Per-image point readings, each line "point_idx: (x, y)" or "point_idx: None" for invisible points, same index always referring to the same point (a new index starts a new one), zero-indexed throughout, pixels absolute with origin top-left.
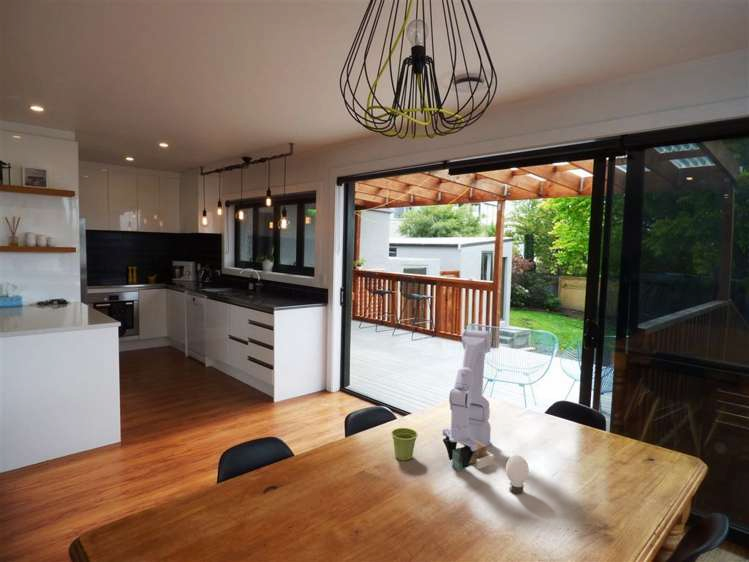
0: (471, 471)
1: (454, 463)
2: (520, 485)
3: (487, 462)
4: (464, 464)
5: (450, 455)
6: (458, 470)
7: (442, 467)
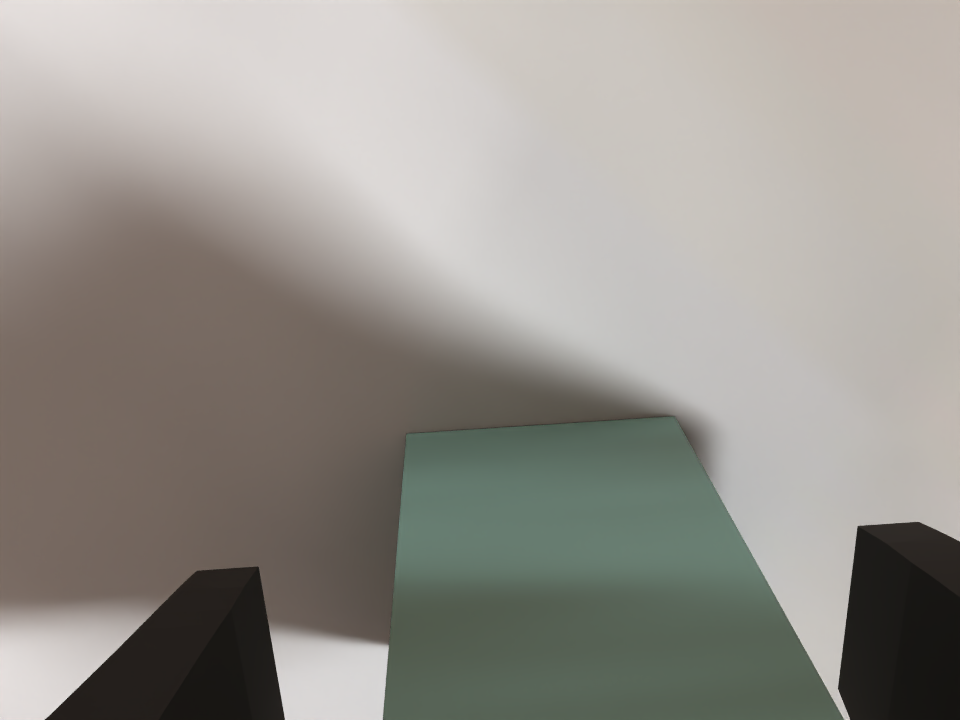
0: None
1: (606, 500)
2: None
3: None
4: (128, 666)
5: (952, 635)
6: (406, 438)
7: (832, 131)
